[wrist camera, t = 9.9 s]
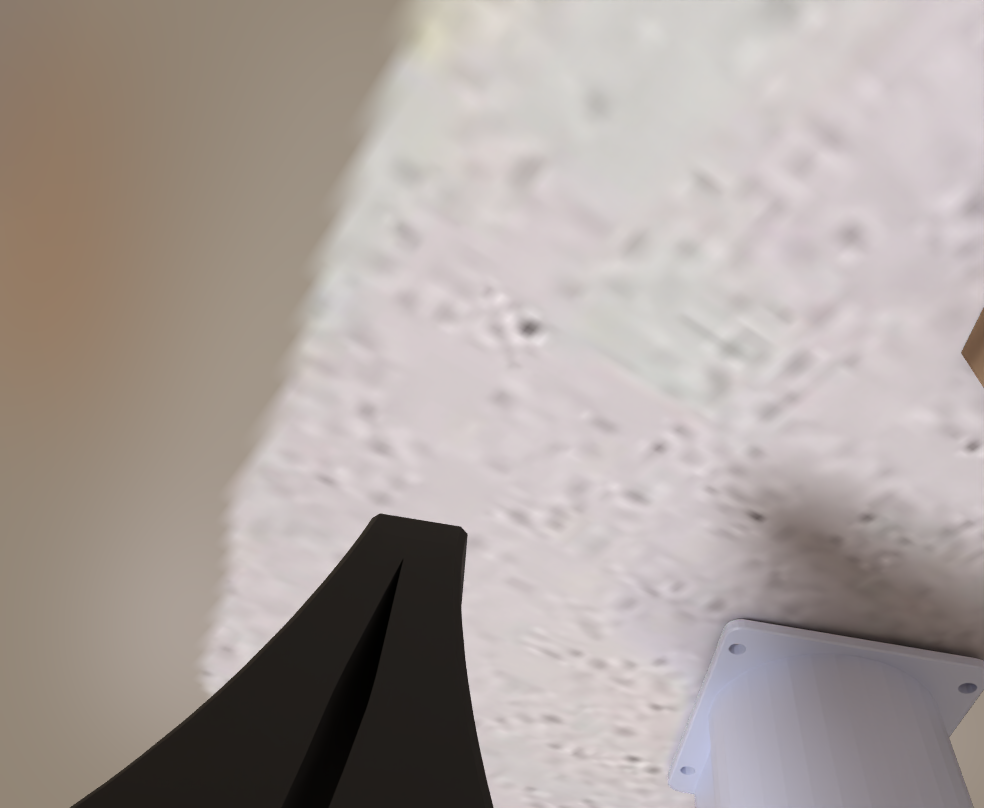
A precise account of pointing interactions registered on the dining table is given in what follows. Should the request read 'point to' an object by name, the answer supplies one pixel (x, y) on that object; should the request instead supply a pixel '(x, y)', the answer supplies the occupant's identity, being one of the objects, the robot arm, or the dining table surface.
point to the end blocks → (976, 349)
